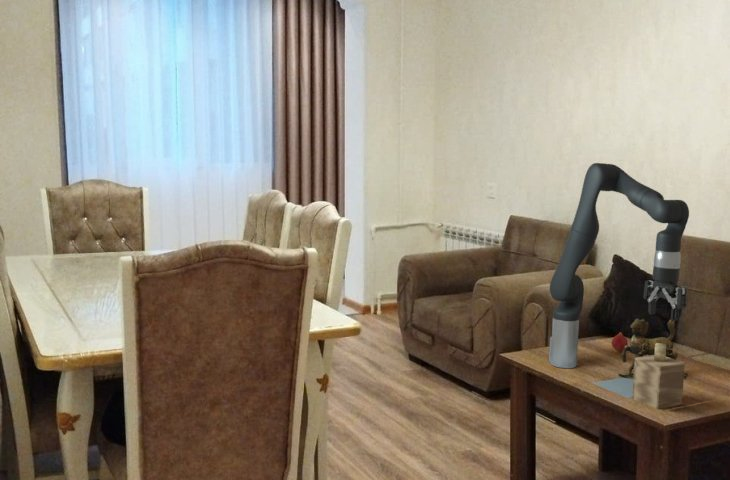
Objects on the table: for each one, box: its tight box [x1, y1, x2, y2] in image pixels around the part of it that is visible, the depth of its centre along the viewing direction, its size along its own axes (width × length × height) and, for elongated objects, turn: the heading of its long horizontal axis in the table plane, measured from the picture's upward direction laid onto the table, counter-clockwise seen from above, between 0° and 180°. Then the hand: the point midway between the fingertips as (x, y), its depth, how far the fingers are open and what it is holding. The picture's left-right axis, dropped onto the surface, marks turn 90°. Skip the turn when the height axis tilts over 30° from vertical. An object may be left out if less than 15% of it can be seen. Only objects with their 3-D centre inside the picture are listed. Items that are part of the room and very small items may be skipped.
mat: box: [592, 377, 634, 399], centre depth 245 cm, size 16×16×1 cm
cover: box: [631, 343, 686, 410], centre depth 231 cm, size 10×10×19 cm
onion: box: [611, 331, 629, 353], centre depth 287 cm, size 6×6×8 cm
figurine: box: [618, 317, 689, 379], centre depth 257 cm, size 13×25×20 cm, turn 96°
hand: (663, 317), depth 228 cm, fingers open, 8 cm apart
